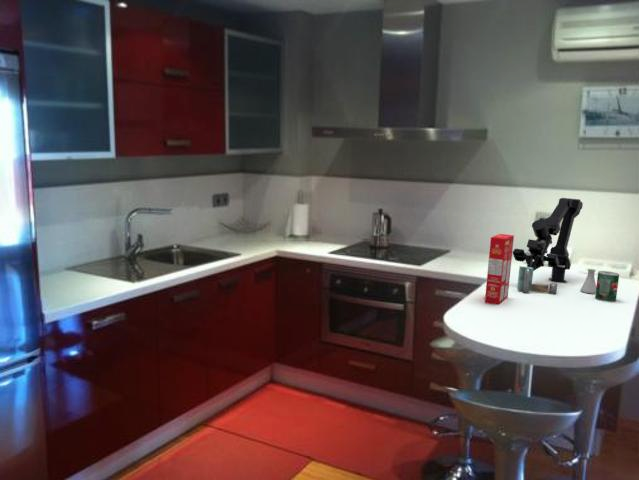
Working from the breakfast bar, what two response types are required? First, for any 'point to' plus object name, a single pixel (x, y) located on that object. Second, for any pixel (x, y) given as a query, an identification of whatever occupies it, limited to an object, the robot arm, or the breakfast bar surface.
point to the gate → (532, 286)
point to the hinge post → (552, 288)
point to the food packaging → (499, 268)
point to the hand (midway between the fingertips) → (528, 272)
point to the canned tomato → (607, 286)
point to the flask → (589, 283)
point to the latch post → (526, 281)
